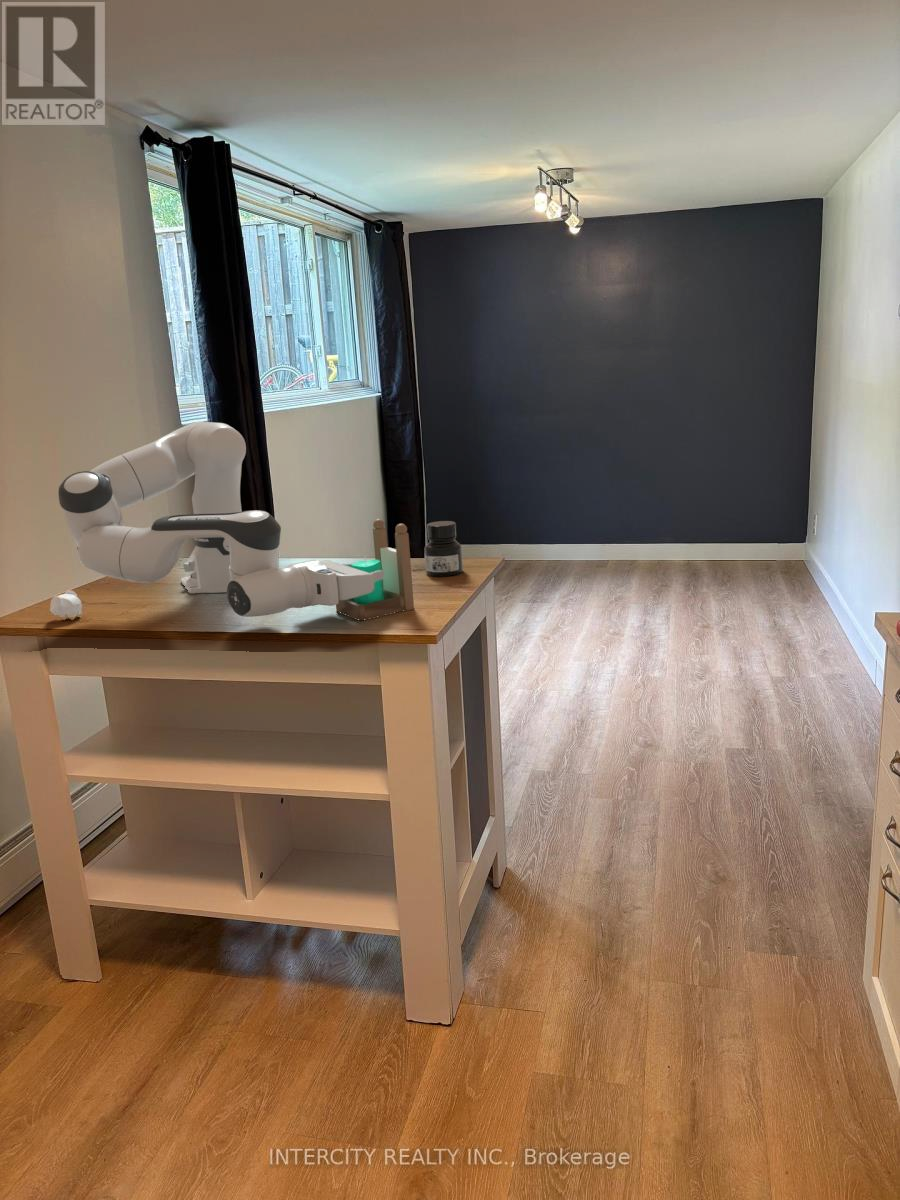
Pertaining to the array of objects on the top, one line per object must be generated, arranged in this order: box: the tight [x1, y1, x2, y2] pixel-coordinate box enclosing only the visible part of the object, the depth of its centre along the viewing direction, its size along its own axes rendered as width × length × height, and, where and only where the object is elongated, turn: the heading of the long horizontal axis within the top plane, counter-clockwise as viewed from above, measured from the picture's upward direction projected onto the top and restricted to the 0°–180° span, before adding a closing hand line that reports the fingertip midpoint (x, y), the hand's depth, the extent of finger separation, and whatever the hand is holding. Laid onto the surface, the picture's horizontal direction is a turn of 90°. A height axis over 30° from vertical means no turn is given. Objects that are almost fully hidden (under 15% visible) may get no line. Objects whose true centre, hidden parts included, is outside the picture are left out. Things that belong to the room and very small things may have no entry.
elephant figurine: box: [48, 589, 83, 618], centre depth 205 cm, size 7×8×6 cm
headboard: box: [372, 518, 415, 611], centre depth 197 cm, size 11×2×18 cm, turn 35°
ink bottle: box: [423, 520, 464, 577], centre depth 223 cm, size 10×9×12 cm
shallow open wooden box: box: [335, 590, 405, 621], centre depth 195 cm, size 10×10×3 cm
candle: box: [350, 555, 384, 605], centre depth 194 cm, size 6×6×12 cm
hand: (370, 570), depth 194 cm, fingers open, 8 cm apart
